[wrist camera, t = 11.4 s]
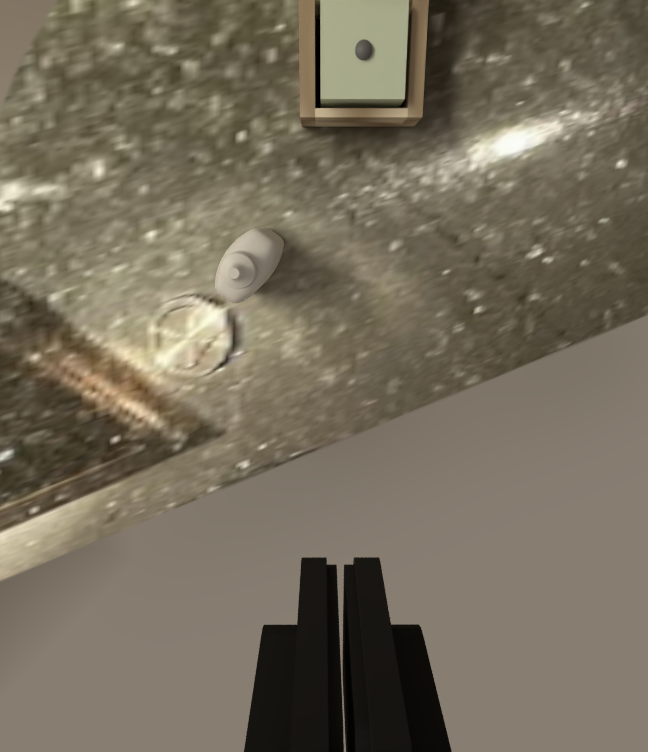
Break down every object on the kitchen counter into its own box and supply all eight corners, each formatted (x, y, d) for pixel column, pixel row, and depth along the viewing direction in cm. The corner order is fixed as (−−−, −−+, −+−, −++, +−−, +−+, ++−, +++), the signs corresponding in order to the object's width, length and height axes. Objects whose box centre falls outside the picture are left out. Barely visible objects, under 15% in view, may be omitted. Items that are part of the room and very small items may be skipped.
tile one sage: (400, 21, 37) (409, -2, 33) (397, 110, 38) (405, 98, 35) (320, 20, 37) (320, -3, 33) (320, 110, 38) (320, 98, 35)
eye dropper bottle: (297, 269, 43) (288, 285, 31) (240, 296, 43) (211, 322, 32) (275, 221, 42) (257, 221, 30) (217, 250, 42) (178, 260, 31)
